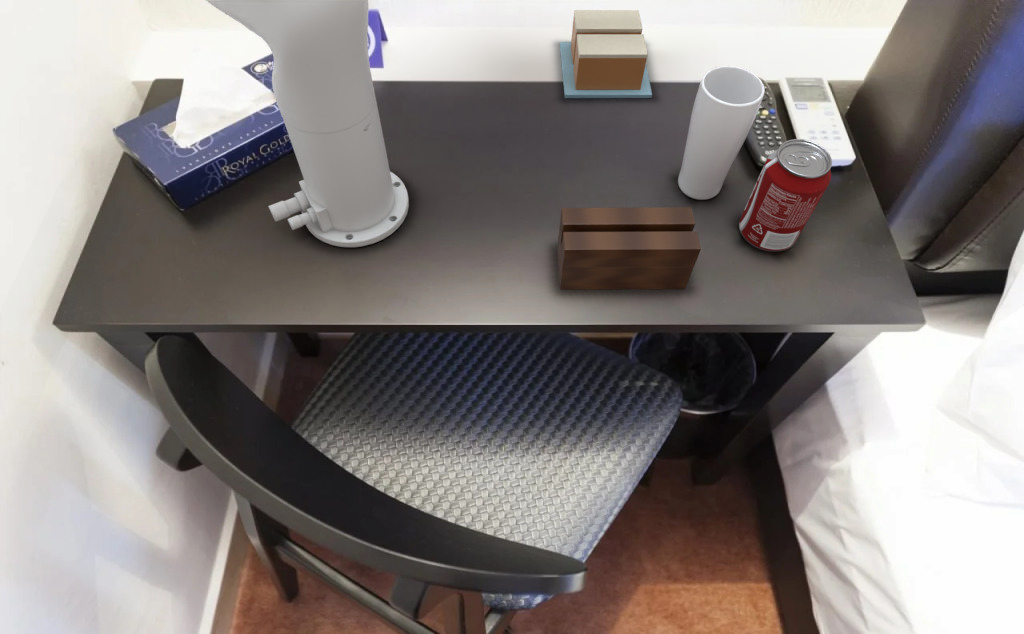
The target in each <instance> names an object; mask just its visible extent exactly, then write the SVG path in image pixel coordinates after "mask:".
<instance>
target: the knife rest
mask: <svg viewBox="0 0 1024 634" xmlns="http://www.w3.org/2000/svg"><path fill="white" fill-rule="evenodd" d="M559 219H560V220H559V228H558V237H557V246H556V251H557V253H556V255H557V267H558V283H559V290H564V291H565V290H686V288H687V286H688V283H689V280H690V278H691V276H692V273H693V270H694V268H695V265H696V263H697V260H698V258H699V255H700V252H701V251H702V247H701V243H700V239H699V234H698V231H695V230H694V229H695V225H696V220H695V216H694V212H693V208H692V207H691V206H689V207H688V206H687V207H686V206H682V207H681V206H679V207H678V206H677V207H675V206H674V207H671V206H669V207H661V206H660V207H656V206H655V207H653V206H651V207H646V206H645V207H643V206H642V207H641V206H640V207H561V210H560V218H559Z"/></svg>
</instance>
